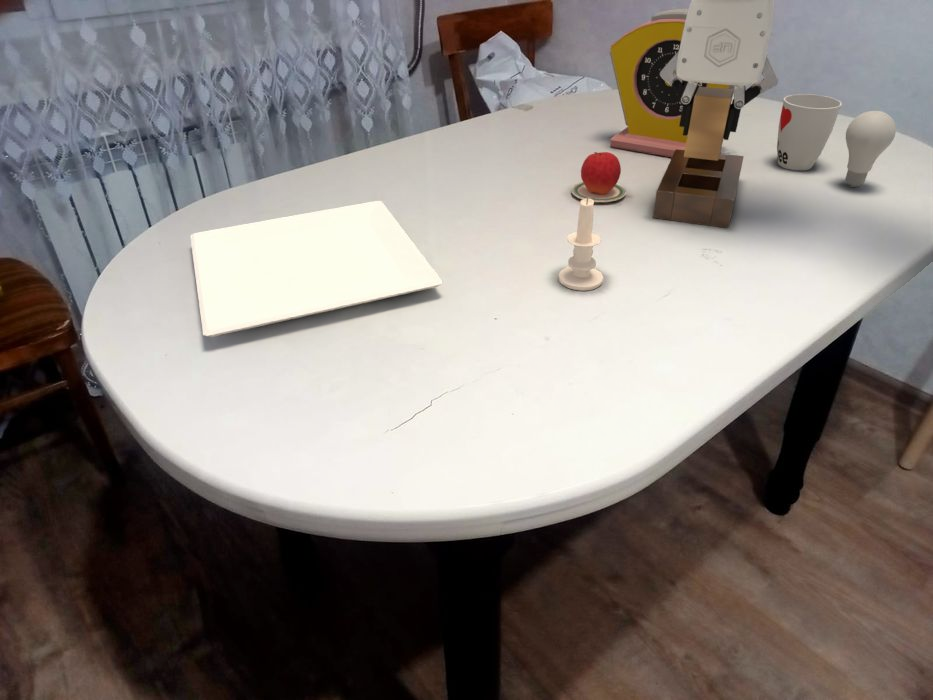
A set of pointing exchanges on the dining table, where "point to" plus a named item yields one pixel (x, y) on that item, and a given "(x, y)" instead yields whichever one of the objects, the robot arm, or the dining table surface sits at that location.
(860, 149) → the lightbulb
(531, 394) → the dining table surface
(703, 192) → the holder
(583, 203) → the candle
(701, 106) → the peg
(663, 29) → the yellow clock scale
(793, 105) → the cup
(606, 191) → the apple
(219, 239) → the plate
